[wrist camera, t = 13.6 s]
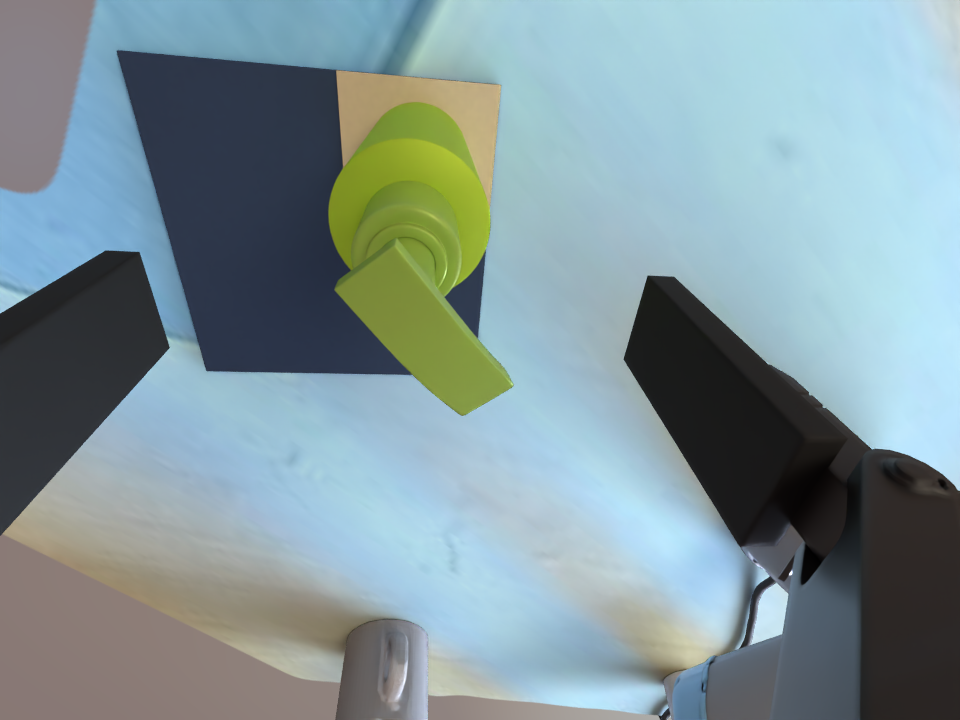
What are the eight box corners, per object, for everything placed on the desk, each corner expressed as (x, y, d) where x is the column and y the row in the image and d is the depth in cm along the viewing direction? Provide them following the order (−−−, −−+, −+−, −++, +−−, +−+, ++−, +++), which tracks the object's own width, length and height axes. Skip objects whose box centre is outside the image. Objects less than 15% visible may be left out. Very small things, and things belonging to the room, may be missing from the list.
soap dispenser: (421, 238, 31) (409, 459, 14) (347, 144, 28) (218, 290, 11) (495, 184, 29) (580, 360, 13) (427, 78, 26) (421, 129, 9)
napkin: (474, 373, 38) (474, 376, 37) (207, 368, 35) (205, 372, 35) (500, 84, 27) (501, 85, 27) (119, 50, 25) (115, 50, 24)
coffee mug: (407, 665, 63) (404, 760, 54) (334, 653, 59) (319, 752, 51) (454, 613, 57) (458, 710, 48) (376, 596, 53) (366, 698, 45)
